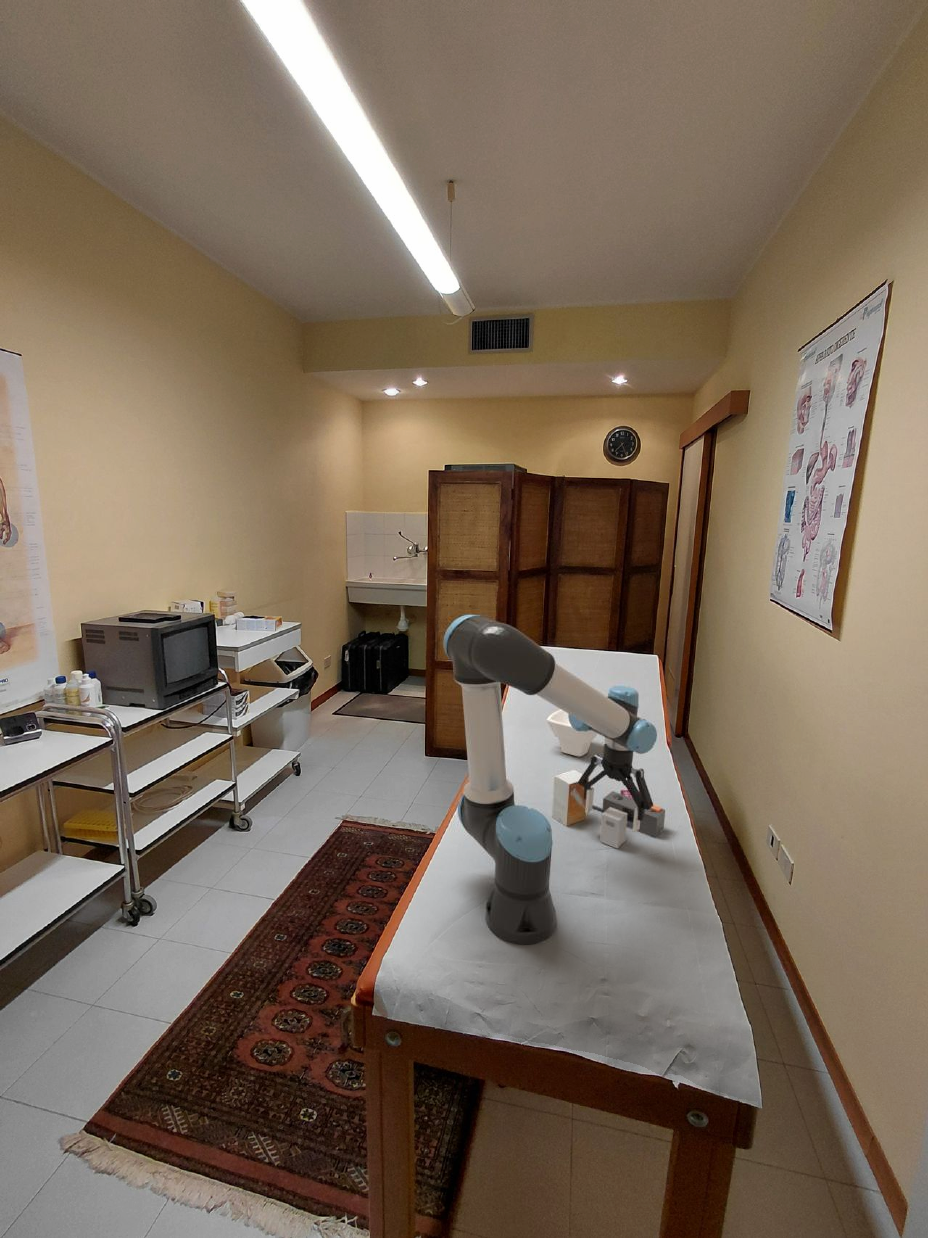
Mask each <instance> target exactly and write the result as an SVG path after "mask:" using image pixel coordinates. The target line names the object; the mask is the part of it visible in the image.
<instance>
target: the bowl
mask: <svg viewBox="0 0 928 1238" xmlns="http://www.w3.org/2000/svg"><path fill="white" fill-rule="evenodd" d="M546 722H547V724H548V725H549V727H550V729H551V731H552V733H553V735H554V737H556V738H558V742H559V746H560V750H561V752H562V753H565V754H567V755H572V756H574V757H582V756H584V755H585V754H587V753H588V752H589V749H590V746H591V743H592V741H593V740H594V739H595V738H596V737H597V735H599V734H598V733H596V732H594V731H591V730H588V731H577V730H575V729H574V728H573V727H572V726H571V724H570V722H569V718H568V713H567V712H565V711H563V710H562V709H558V710H556V711H554V712H553V713H551V714H550V715H548V717H547V718H546Z"/></svg>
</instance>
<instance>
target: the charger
mask: <svg viewBox="0 0 928 1238" xmlns="http://www.w3.org/2000/svg"><path fill="white" fill-rule="evenodd" d="M626 826H627V813H625V812H622V811H619V810H617V809H614V808H611V807H610V808H608V809H607V810H606V811H605V812H604V813H603V814H602V813H601V823H600V834H599V835H600V836H599V841H600V842H601V843H603V844H606V845H608V846H611V847H613V848H615V849H619V848H620V847H621V845H623V843H624V842H626V838H627V827H626Z"/></svg>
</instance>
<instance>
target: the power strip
mask: <svg viewBox="0 0 928 1238" xmlns="http://www.w3.org/2000/svg"><path fill="white" fill-rule="evenodd" d="M602 799H603V800H602V807H599V806H597V805H594V804H593V806H592V810H595V811H597V812H600V813H601V815H602V814H603V813H604V812H605V811H606V810H607V809H608V808H610V807H611V808H614V809H617V810H619V811H622V812H625V813H627V826H626V828H628V829H631V830H633V821H634V812H635V808H636V807H637V805H636V803H635V801H634V800H633V798H630V797H628V796H625V795H622V794H621V793H619V792H616V791H614V790H613V791H611V792H609V793H608V794H607V795H606V796H605V797H603V798H602ZM665 816H666V809H665V808H663V807H661V806H658V805H654V804H653V806H652V807H651V808H650V809H649V810H647V809H645V815H644V819H643V820H642V821H640V828H639V830H638V831H637V832H639V833H641V834H644V835H646V836H649V837H651V838H654V839H656V838H657V837H658V836H659V835H660V833H662V832H663V831H664V829H665V818H666V817H665Z"/></svg>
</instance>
